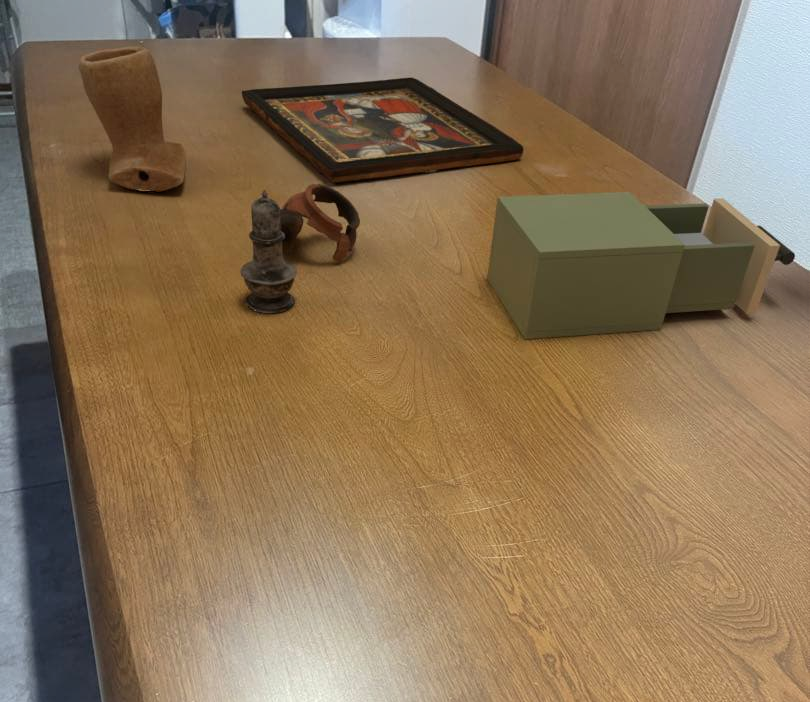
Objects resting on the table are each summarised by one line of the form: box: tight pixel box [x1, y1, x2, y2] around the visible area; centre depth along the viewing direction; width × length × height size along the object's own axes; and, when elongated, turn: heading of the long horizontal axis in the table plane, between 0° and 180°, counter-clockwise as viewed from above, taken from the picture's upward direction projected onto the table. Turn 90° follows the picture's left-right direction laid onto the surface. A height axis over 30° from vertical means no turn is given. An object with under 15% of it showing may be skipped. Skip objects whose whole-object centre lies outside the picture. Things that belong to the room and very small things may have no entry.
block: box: [674, 232, 713, 246], centre depth 97 cm, size 4×4×4 cm
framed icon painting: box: [241, 77, 524, 183], centre depth 133 cm, size 38×35×3 cm
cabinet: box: [486, 191, 685, 340], centre depth 94 cm, size 16×14×10 cm
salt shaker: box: [239, 189, 298, 314], centre depth 90 cm, size 6×6×12 cm
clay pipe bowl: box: [78, 46, 187, 192], centre depth 112 cm, size 15×12×15 cm
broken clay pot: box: [280, 183, 361, 263], centre depth 101 cm, size 12×10×8 cm
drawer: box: [644, 197, 796, 314], centre depth 97 cm, size 19×12×8 cm, turn 103°
